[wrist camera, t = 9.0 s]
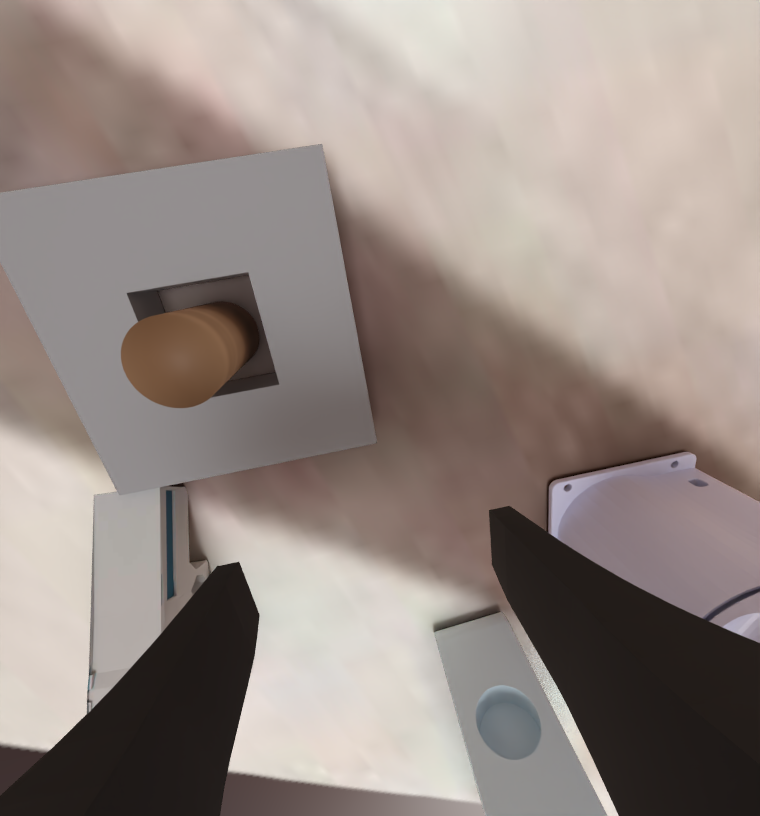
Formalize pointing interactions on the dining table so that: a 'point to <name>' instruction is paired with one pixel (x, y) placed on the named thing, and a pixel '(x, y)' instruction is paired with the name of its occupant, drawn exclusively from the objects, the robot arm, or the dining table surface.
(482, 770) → the guitar pedal
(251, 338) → the peg
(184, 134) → the dining table surface
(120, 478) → the socket plate
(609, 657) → the robot arm
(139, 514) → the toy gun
